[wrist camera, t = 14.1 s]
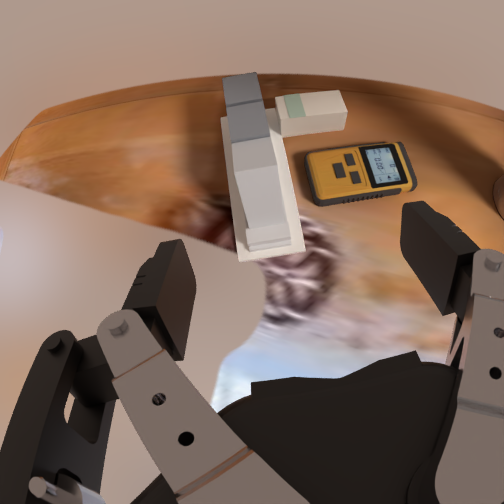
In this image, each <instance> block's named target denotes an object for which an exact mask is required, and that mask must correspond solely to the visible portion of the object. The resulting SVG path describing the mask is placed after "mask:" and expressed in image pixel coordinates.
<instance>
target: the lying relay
mask: <svg viewBox="0 0 504 504" xmlns="http://www.w3.org/2000/svg"><path fill="white" fill-rule="evenodd" d="M275 104H276V114H277V118H278V123H279V127H280V131H281V135H282V138H283V137H290V136H297V135H304V134H312V133H320V132H329V131H338V130H344V125H345V121H346V117H347V113H348V111H347V109H346V106H345V104H344V101H343V99H342V96H341V94H340V91H339V90H334V91H322V92H312V93H303V94H290V95H283V96H279V97H275Z"/></svg>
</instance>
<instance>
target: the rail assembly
mask: <svg viewBox="0 0 504 504" xmlns="http://www.w3.org/2000/svg"><path fill="white" fill-rule="evenodd" d="M222 81H223V88H224V96H225V103H226V111H227V116H226V117H221V118H220V119H221V128H222V136H223V144H224V153H225V161H226V169H227V177H228V185H229V192H230V200H231V208H232V216H233V223H234V231H235V238H236V246H237V253H238V260H239V262H245V261H252V260H258V259H264V258H270V257H276V256H282V255H288V254H294V253H300V252H305V251H306V250H305V244H304V239H303V234H302V229H301V224H300V218H299V213H298V208H297V204H296V199H295V194H294V189H293V184H292V180H291V175H290V170H289V166H288V161H287V157H286V152H285V148H284V144H283V139H282V135H281V131H280V127H279V123H278V118H277V114H276V110H275V108H271V109H265V108H264V104H263V100H262V95H261V90H260V86H259V82H258V78H257V73H256V72H253V73H247V74H241V75H236V76H231V77H226V78H222ZM265 137H271V140H272V144H273V148H274V153H275V157H276V161H277V165H278V173H279V181H280V189H281V197H282V205H283V214H284V222H285V223H282V224H276V225H270V226H265V227H259V228H253V229H249V225H248V222H247V218H246V214H245V211H244V207H243V203H242V200H241V196H240V193H239V190H238V186H237V183H236V179H235V174H234V166H233V155H232V143H237V142H243V141H248V140H254V139H259V138H265Z"/></svg>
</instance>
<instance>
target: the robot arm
mask: <svg viewBox="0 0 504 504" xmlns="http://www.w3.org/2000/svg"><path fill="white" fill-rule="evenodd" d="M493 196H494V201H495V205H496V207H497V209H498V211H499V213H500V215H501V216H502V218H503V219H504V175H502V176H501V177H500V178H499V179H498V180H497V181H496V182H495V184H494V188H493ZM400 246H401V251H402V254H403V257H404V258H405V260H406V261H407V262H408V264H409V265H410V267H411V268H412V270H413V271H414V272H415V274H416V275H417V277H418V278H419V280H420V281H421V283H422V284H423V286H424V287H425V289H426V290H427V292H428V293H429V295H430V297H431V298H432V300H433V301H434V303H435V304H436V306H437V307H438V309H439V311H440V312H441V314H442V316H444V315H448V314H451V313H454V312H455V313H456V314H457V317H456V320H455V323H454V328H453V333H452V337H451V342H450V346H449V351H448V355H447V359H446V363H445V364H441V363H435V362H421V361H420V358H419V356H418V354H417V352H416V351H412V352H409V353H405V354H401V355H398V356H394V357H390V358H386V359H382V360H378V361H376V362H374V363H372V364H370V365H368V366H366V367H364V368H362V369H360V370H358V371H355V372H353V373H351V374H349V375H347V376H344V377H342V378H336V379H332V378H304V377H290V378H283V379H275V380H268V381H260V382H251V395H249V396H246V397H243V398H241V399H239V400H237V401H235V402H233V403H231V404H229V405H228V406H226V407H225V408H223V409H222V410H221V411H219V412H218V413H216V412H215V411H214V409H213V408H212V407H211V406H210V405H209V404H208V402H207V401H206V400H205V399H204V398H203V397H202V396H201V394H200V393H199V392H198V390H197V389H196V388H195V387H194V386H193V384H192V383H191V382H190V381H189V379H188V378H187V377H186V376H185V374H184V373H183V372H182V371H181V369H180V368H179V367H178V365H177V364H176V363H175V361H183V360H184V354H185V348H186V343H187V338H188V332H189V326H190V321H191V316H192V310H193V305H194V300H195V295H196V279H195V275H194V272H193V269H192V266H191V263H190V260H189V257H188V254H187V252H186V249H185V246H184V243H183V241H182V240H181V239H177V240H172V241H166V242H161V243H160V244H159V246H158V248H157V250H156V253H155V255H154V257H153V258H149V259H148V260H147V261H146V262H145V263H144V264H143V265H142V266H141V268H140V269H139V271H138V274H137V275H136V278H135V280H134V282H133V286H132V287H131V289H130V291H129V293H128V295H127V298H126V300H125V302H124V305H123V307H122V309H121V310H120V311H117V312H114V313H112V314H110V315H109V316H108V317H106V318H105V319H104V320H103V321H102V322H101V323H100V325H99V327H98V329H97V335H94V336H91V337H88V338H85V339H82V340H79V341H77V339H76V338H75V336H74V335H73V334H72V333H71V332H70V331H67V330H62V331H58V332H56V333H54V334H52V335H51V336H49V337H48V338H47V339H46V340H45V341H44V342H43V344H42V346H41V347H40V349H39V352H38V354H37V356H36V358H35V360H34V362H33V365H32V367H31V369H30V371H29V374H28V376H27V378H26V381H25V383H24V386H23V388H22V391H21V393H20V396H19V398H18V401H17V403H16V406H15V409H14V411H13V414H12V417H11V420H10V423H9V425H8V428H7V431H6V435H5V437H4V441H3V444H2V447H1V450H0V504H106V503H105V501H104V499H103V498H102V497H101V495H100V487H101V480H102V473H103V467H104V460H105V454H106V449H107V443H108V437H109V432H110V427H111V421H112V417H113V412H114V407H115V402H116V399H120V400H121V403H122V405H123V407H124V409H125V411H126V413H127V414H128V416H129V418H130V420H131V422H132V424H133V426H134V428H135V429H136V431H137V433H138V435H139V436H140V438H141V440H142V442H143V444H144V445H145V447H146V449H147V450H148V452H149V454H150V456H151V457H152V459H153V460H154V462H155V464H156V465H157V467H158V468H159V470H160V472H161V474H160V475H159V476H158V477H157V478H156V479H155V480H154V481H153V482H152V483H151V484H150V485H149V486H148V487H147V488H146V489H145V490H144V491H143V492H142V493H141V494H140V495H139V496H138V497H137V498H136V499H134V501H132V502H131V503H130V504H504V254H502V253H500V252H498V251H496V250H492V249H480V248H479V247H478V246H477V245H476V244H475V243H474V242H473V241H472V240H471V239H470V238H469V237H468V236H467V235H466V234H465V233H464V232H462V230H461V229H460V228H459V227H458V226H456V224H455V223H453V222H452V221H451V220H450V219H449V218H448V217H446V216H444V215H442V214H440V213H438V212H436V211H434V210H433V209H432V208H431V207H430V206H429V205H428V204H427V203H425V202H424V201H417V202H410V203H405V204H404V205H403V208H402V221H401V236H400ZM69 392H70V393H71V394H72V395H73V396H74V397H75V399H74V403H73V406H72V410H71V413H70V417H69V420H68V424H67V423H66V421H65V418H64V408H65V405H66V401H67V398H68V395H69Z"/></svg>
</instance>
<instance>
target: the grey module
mask: <svg viewBox="0 0 504 504" xmlns="http://www.w3.org/2000/svg"><path fill="white" fill-rule="evenodd" d="M232 155H233V166H234V174H235V179H236V183H237V186H238V190H239V193H240V196H241V200H242V203H243V207H244V211H245V214H246V218H247V222H248V225H249V229H253V228H259V227H265V226H270V225H276V224H282V223H285V222H284V214H283V205H282V197H281V189H280V181H279V173H278V165H277V161H276V157H275V153H274V148H273V144H272V140H271V137H265V138H259V139H254V140H248V141H243V142H237V143H232Z"/></svg>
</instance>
